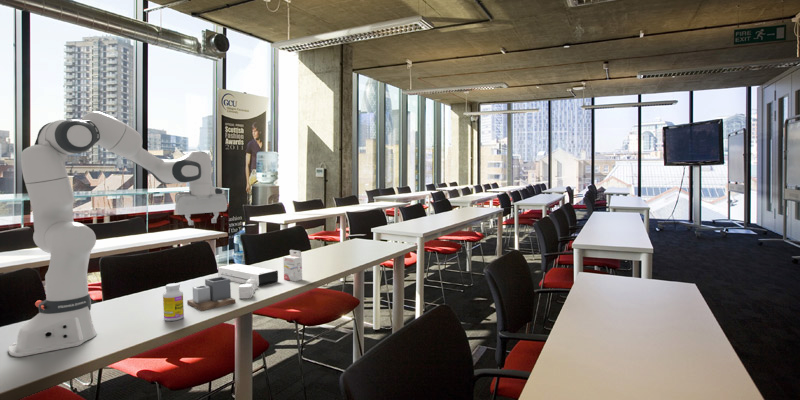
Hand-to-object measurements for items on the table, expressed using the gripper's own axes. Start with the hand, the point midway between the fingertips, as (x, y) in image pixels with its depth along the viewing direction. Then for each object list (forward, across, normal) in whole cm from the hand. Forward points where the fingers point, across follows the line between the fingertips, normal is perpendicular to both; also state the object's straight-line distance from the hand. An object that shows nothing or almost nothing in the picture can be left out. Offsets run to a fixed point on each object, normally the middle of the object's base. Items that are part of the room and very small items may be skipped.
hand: (202, 224), depth 186 cm
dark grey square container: (+32, +4, -3) cm, 32 cm away
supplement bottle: (+33, -17, -12) cm, 39 cm away
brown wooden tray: (+33, +1, -3) cm, 33 cm away
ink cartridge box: (+33, +47, +7) cm, 58 cm away
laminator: (+34, +32, +25) cm, 53 cm away
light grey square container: (+32, -3, -3) cm, 32 cm away
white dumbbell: (+34, +20, +1) cm, 39 cm away
